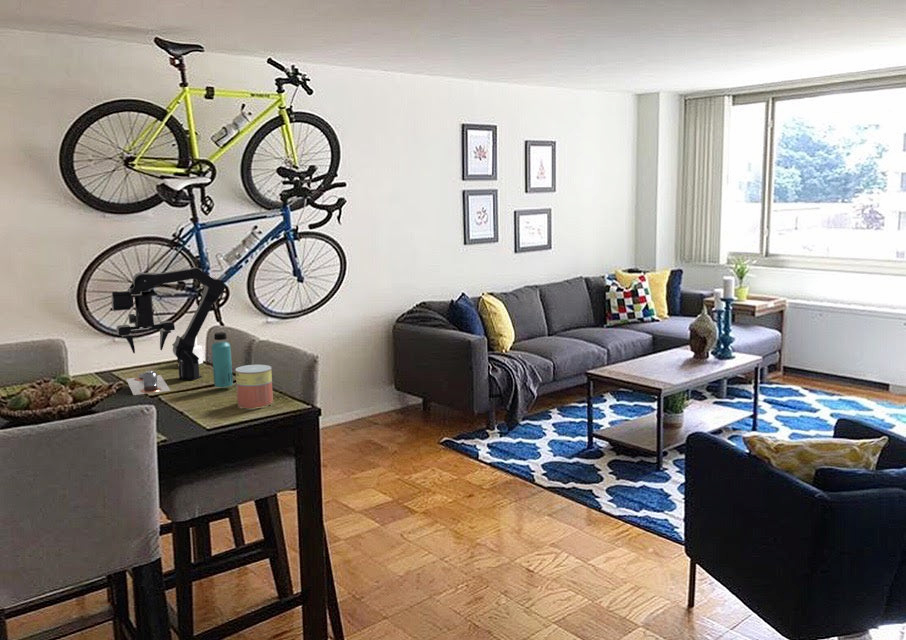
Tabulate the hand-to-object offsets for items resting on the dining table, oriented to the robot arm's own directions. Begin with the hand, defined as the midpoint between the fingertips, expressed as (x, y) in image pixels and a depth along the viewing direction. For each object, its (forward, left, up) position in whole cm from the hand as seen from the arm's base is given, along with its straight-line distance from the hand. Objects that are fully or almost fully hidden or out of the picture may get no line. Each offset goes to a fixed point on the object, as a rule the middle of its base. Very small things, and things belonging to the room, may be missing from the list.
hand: (147, 351), depth 274 cm
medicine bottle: (+4, -30, -12) cm, 33 cm away
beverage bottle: (-31, 0, -12) cm, 33 cm away
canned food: (-52, +14, -12) cm, 55 cm away
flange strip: (-1, +2, -12) cm, 12 cm away
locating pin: (-7, +8, -11) cm, 16 cm away
